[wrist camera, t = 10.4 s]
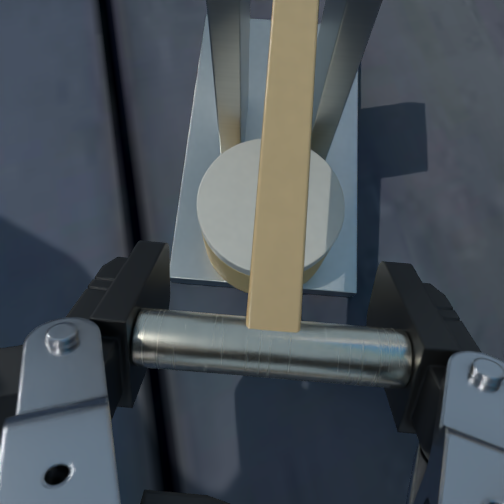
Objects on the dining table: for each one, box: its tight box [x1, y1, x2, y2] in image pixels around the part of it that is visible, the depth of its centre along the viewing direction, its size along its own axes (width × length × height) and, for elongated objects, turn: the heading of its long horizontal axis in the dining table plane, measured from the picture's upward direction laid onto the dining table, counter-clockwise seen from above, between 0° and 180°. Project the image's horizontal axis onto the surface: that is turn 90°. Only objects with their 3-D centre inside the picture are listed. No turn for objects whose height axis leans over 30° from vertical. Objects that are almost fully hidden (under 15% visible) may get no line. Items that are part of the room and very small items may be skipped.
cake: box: [196, 138, 345, 293], centre depth 19 cm, size 6×6×4 cm
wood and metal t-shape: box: [131, 0, 413, 389], centre depth 10 cm, size 14×6×2 cm, turn 176°
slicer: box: [170, 0, 382, 297], centre depth 17 cm, size 16×9×15 cm, turn 175°
